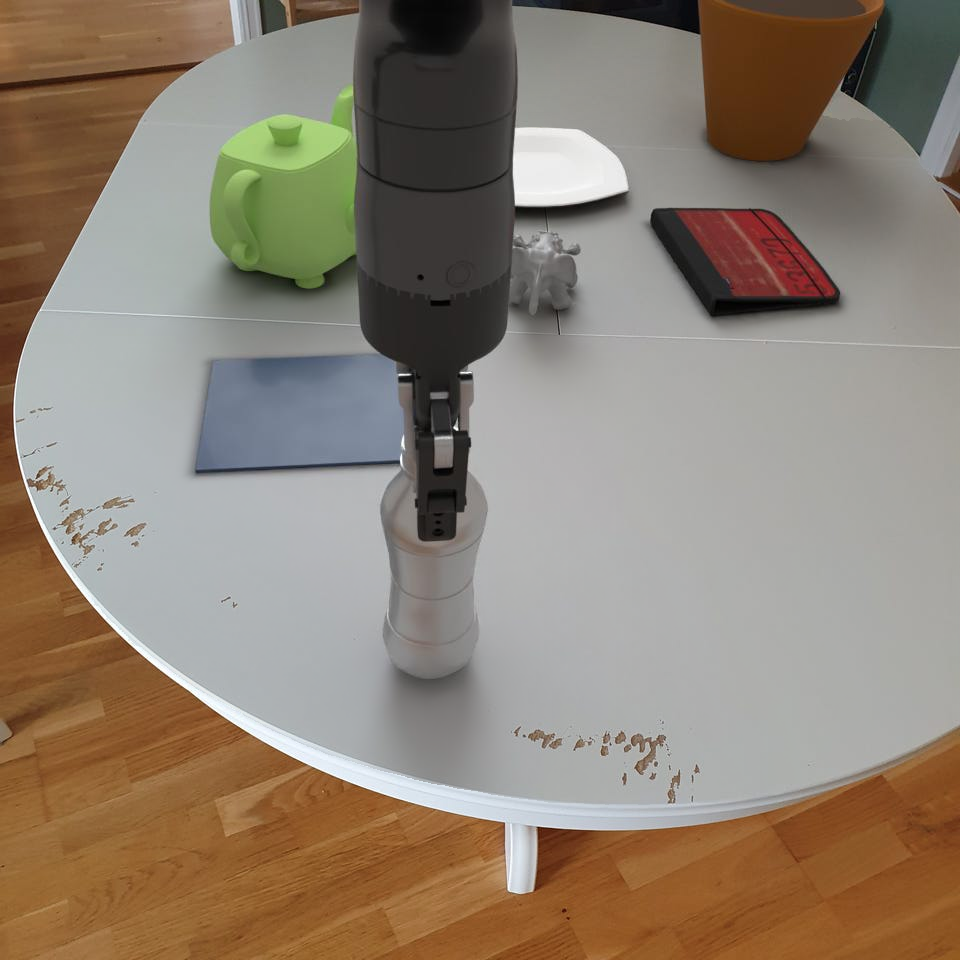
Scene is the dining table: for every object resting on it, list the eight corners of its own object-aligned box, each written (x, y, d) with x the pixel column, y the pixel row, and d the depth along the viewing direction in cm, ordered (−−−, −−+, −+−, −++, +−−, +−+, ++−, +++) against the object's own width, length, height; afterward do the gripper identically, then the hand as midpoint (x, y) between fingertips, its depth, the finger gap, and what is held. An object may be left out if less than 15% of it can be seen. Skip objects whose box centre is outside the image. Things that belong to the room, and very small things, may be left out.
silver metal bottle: (379, 623, 69) (368, 410, 55) (469, 612, 70) (481, 401, 56) (388, 697, 64) (379, 485, 51) (485, 684, 65) (502, 474, 52)
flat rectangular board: (195, 472, 81) (195, 470, 80) (213, 362, 92) (212, 360, 92) (427, 461, 83) (427, 458, 83) (416, 355, 94) (416, 352, 94)
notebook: (714, 298, 100) (651, 206, 114) (709, 316, 101) (647, 223, 116) (850, 293, 103) (772, 204, 118) (843, 311, 104) (766, 221, 119)
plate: (587, 135, 135) (588, 121, 134) (648, 210, 119) (651, 195, 117) (430, 147, 130) (430, 133, 129) (472, 227, 114) (473, 212, 112)
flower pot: (799, 192, 124) (844, 32, 110) (642, 142, 134) (666, -10, 120) (864, 136, 138) (911, -12, 124) (717, 95, 148) (746, -47, 134)
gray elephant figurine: (570, 275, 106) (577, 213, 101) (597, 335, 98) (606, 270, 93) (490, 280, 105) (493, 217, 100) (510, 341, 97) (514, 276, 91)
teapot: (353, 336, 96) (343, 191, 86) (182, 283, 103) (152, 142, 92) (459, 230, 113) (462, 98, 102) (306, 191, 119) (294, 62, 108)
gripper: (353, 180, 50) (367, 424, 61) (358, 335, 39) (373, 593, 51) (493, 179, 51) (481, 420, 62) (534, 329, 40) (509, 585, 52)
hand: (432, 497), depth 57 cm, fingers closed on silver metal bottle, 6 cm apart
